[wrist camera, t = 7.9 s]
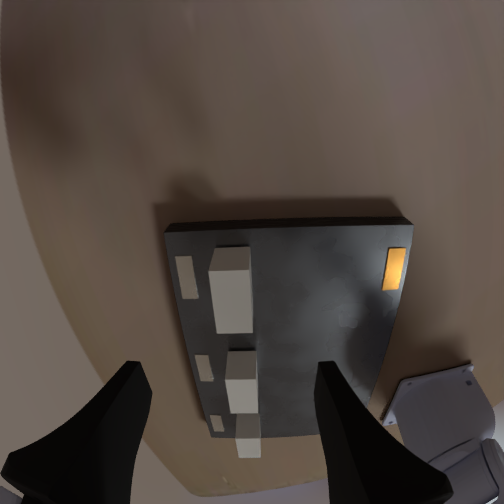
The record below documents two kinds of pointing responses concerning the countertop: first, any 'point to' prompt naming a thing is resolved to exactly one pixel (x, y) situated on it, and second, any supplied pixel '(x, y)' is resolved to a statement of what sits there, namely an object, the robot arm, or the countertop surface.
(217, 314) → the block
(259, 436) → the block
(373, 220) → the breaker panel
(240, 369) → the block
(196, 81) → the countertop surface
